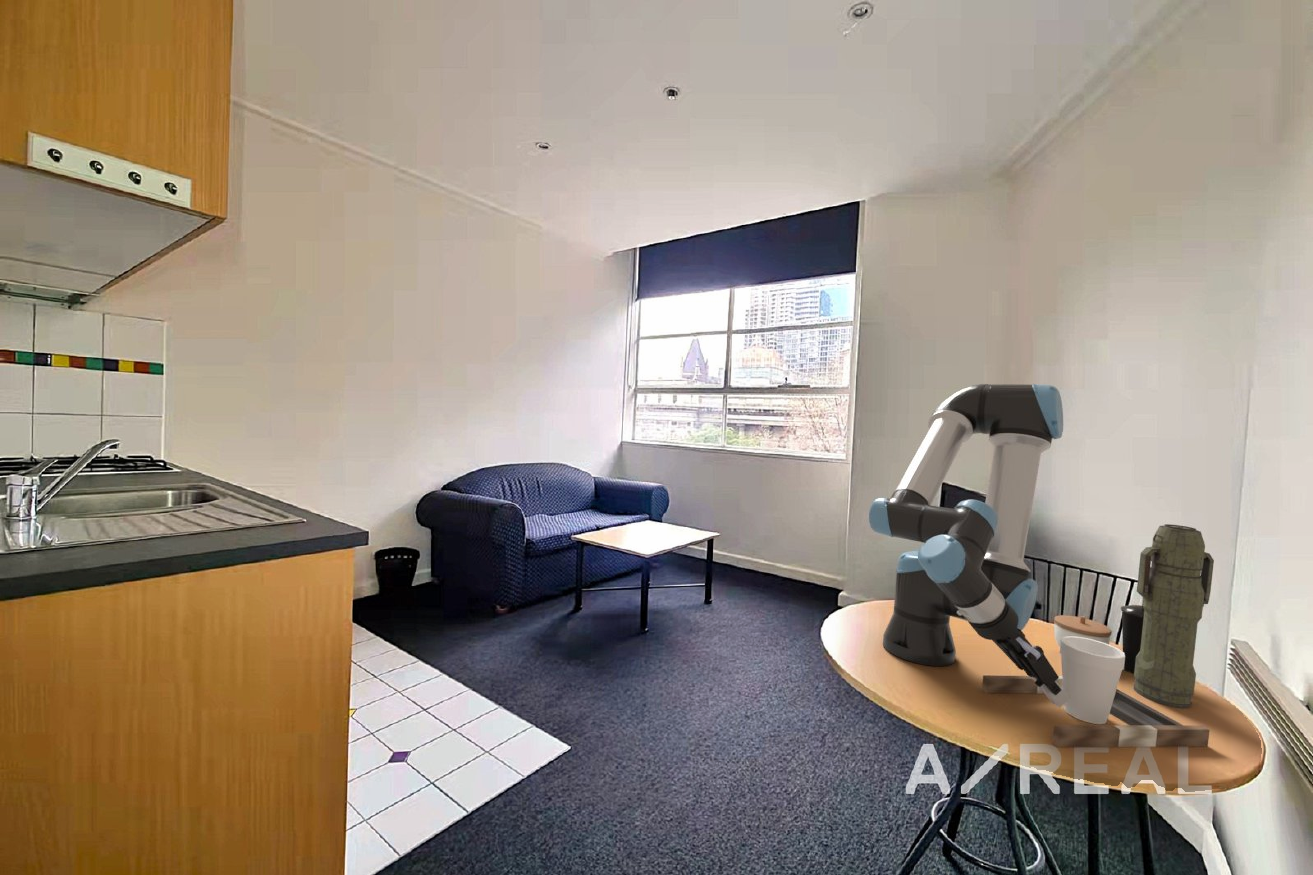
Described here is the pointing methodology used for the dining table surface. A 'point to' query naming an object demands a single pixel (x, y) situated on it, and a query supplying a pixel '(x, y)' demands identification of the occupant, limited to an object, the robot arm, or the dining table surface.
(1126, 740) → the lane
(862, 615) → the dining table surface
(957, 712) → the dining table surface
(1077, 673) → the foam cup
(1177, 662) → the thermos
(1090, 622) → the lidded jar
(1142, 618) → the drinking cup
